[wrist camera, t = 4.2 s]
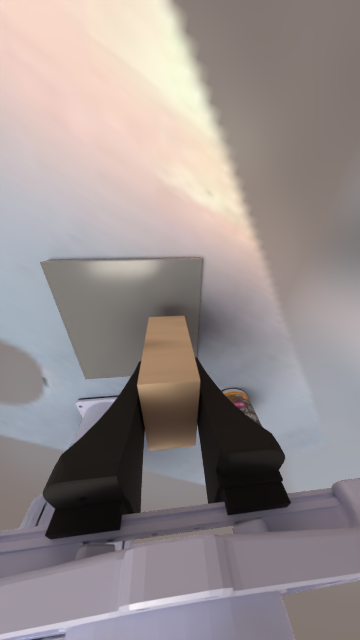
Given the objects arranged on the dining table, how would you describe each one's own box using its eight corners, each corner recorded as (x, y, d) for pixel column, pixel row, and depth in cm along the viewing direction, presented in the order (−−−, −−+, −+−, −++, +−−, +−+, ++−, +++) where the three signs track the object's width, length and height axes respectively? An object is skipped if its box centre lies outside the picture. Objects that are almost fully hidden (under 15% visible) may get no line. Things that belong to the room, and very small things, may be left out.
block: (183, 368, 17) (195, 445, 11) (154, 370, 17) (148, 450, 11) (184, 315, 14) (200, 380, 8) (148, 317, 14) (137, 384, 8)
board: (194, 365, 23) (196, 371, 22) (89, 371, 22) (85, 379, 21) (200, 257, 16) (202, 259, 15) (48, 260, 15) (40, 262, 14)
